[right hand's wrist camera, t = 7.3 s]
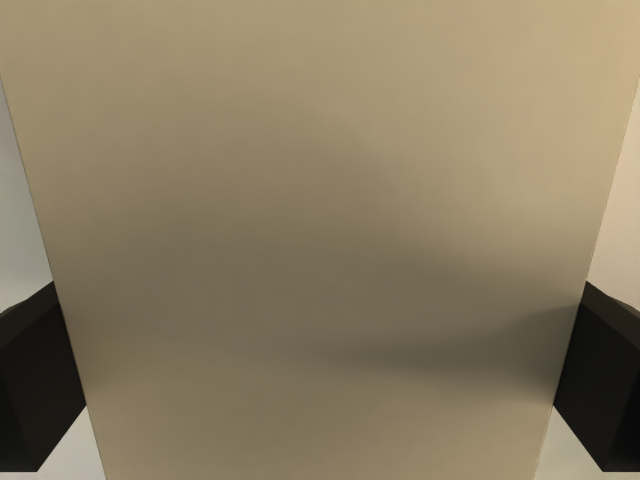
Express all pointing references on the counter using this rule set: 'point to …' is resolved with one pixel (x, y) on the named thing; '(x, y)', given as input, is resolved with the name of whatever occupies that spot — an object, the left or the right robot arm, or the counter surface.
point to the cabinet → (319, 222)
